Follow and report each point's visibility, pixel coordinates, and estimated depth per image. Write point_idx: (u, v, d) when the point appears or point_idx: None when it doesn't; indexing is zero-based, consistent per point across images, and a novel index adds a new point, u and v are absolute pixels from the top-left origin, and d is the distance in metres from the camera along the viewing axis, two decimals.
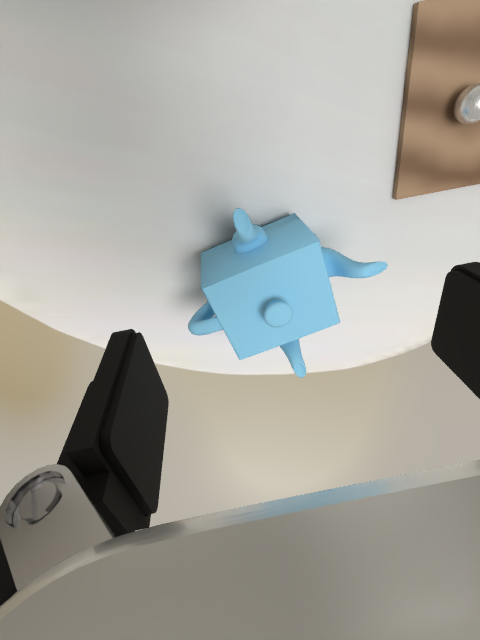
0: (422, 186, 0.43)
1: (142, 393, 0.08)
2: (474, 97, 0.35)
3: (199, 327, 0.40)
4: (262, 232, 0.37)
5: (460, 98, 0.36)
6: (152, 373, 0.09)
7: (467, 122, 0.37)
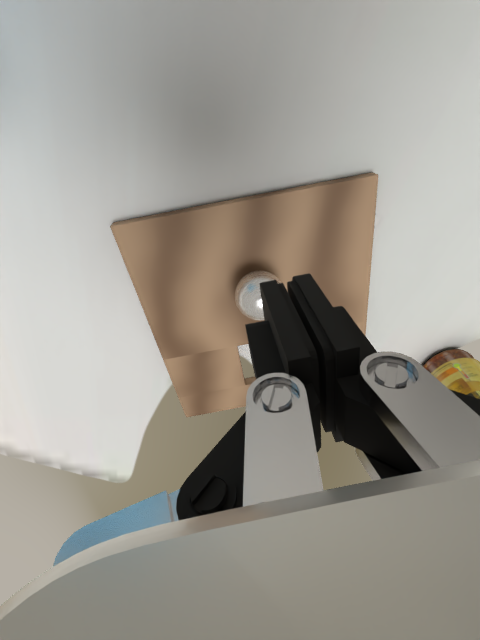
0: (140, 267, 0.25)
1: None
2: None
3: None
4: None
5: (266, 273, 0.25)
6: None
7: (237, 294, 0.25)
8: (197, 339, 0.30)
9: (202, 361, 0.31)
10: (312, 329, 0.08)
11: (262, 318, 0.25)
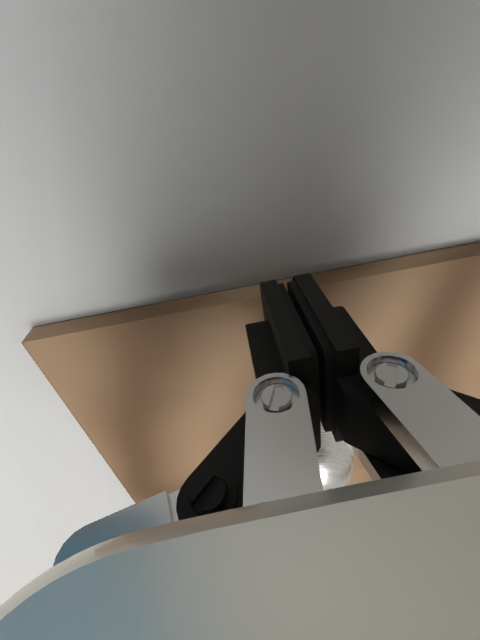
0: (89, 401, 0.14)
1: None
2: (335, 460, 0.12)
3: None
4: None
5: None
6: None
7: None
8: None
9: None
10: (312, 329, 0.08)
11: None
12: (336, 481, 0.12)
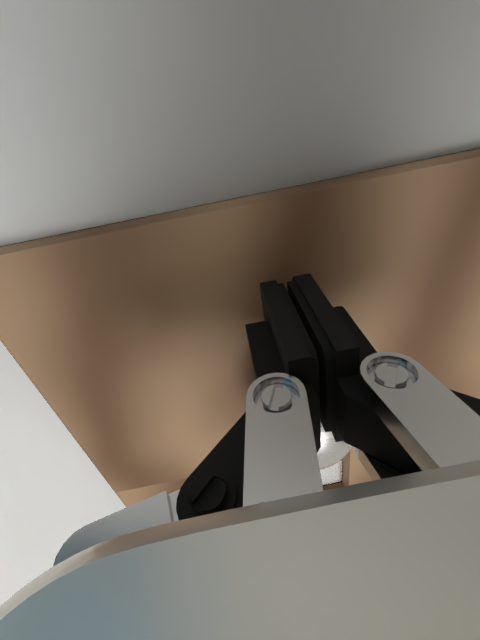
0: (40, 350, 0.12)
1: None
2: None
3: None
4: None
5: None
6: None
7: None
8: (176, 461, 0.16)
9: None
10: (312, 329, 0.08)
11: None
12: (339, 448, 0.10)
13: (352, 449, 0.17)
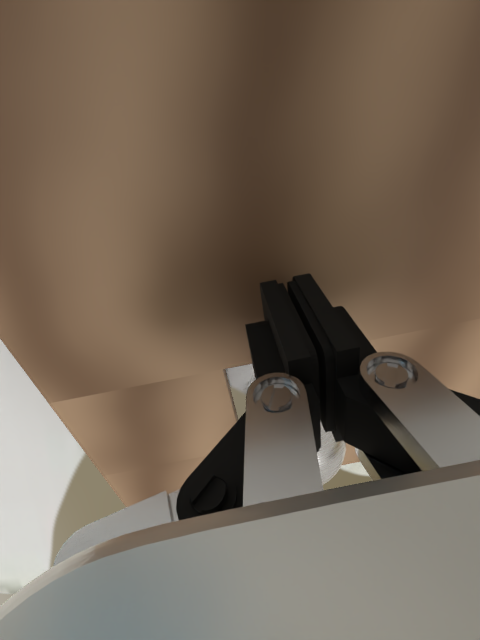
0: None
1: None
2: None
3: None
4: None
5: None
6: None
7: None
8: (124, 355, 0.12)
9: (143, 403, 0.14)
10: (312, 329, 0.08)
11: None
12: None
13: None
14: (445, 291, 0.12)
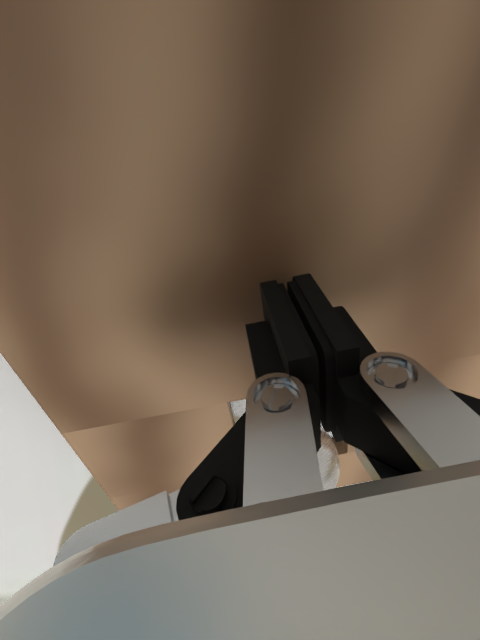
0: None
1: None
2: None
3: None
4: None
5: None
6: None
7: None
8: (134, 391, 0.13)
9: (151, 433, 0.14)
10: (312, 329, 0.08)
11: None
12: None
13: None
14: (436, 333, 0.13)
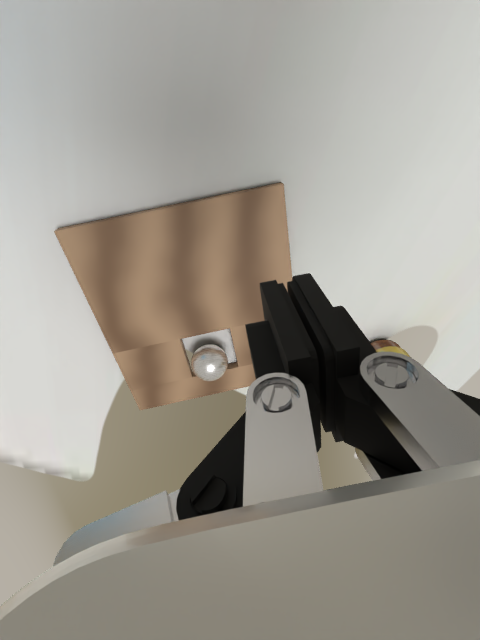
0: (84, 267, 0.29)
1: None
2: None
3: None
4: None
5: None
6: None
7: None
8: (142, 333, 0.33)
9: (149, 354, 0.34)
10: (312, 329, 0.08)
11: (203, 346, 0.34)
12: None
13: (231, 331, 0.34)
14: (258, 308, 0.33)
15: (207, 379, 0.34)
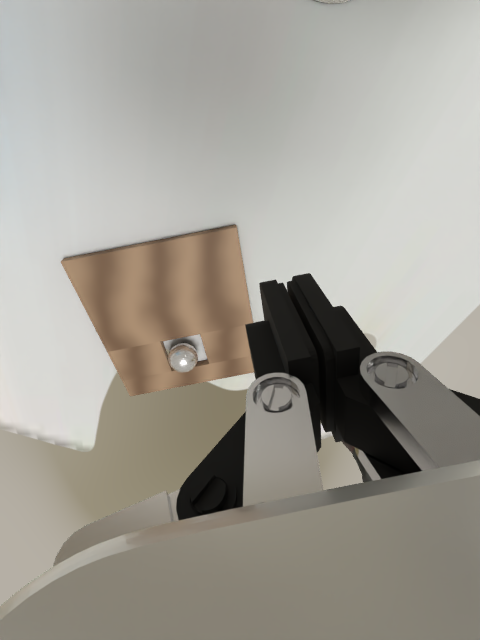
0: (83, 287, 0.37)
1: None
2: None
3: None
4: None
5: None
6: None
7: None
8: (130, 337, 0.42)
9: (136, 352, 0.43)
10: (312, 329, 0.08)
11: (179, 343, 0.43)
12: None
13: (201, 336, 0.43)
14: (222, 318, 0.42)
15: (179, 369, 0.42)
